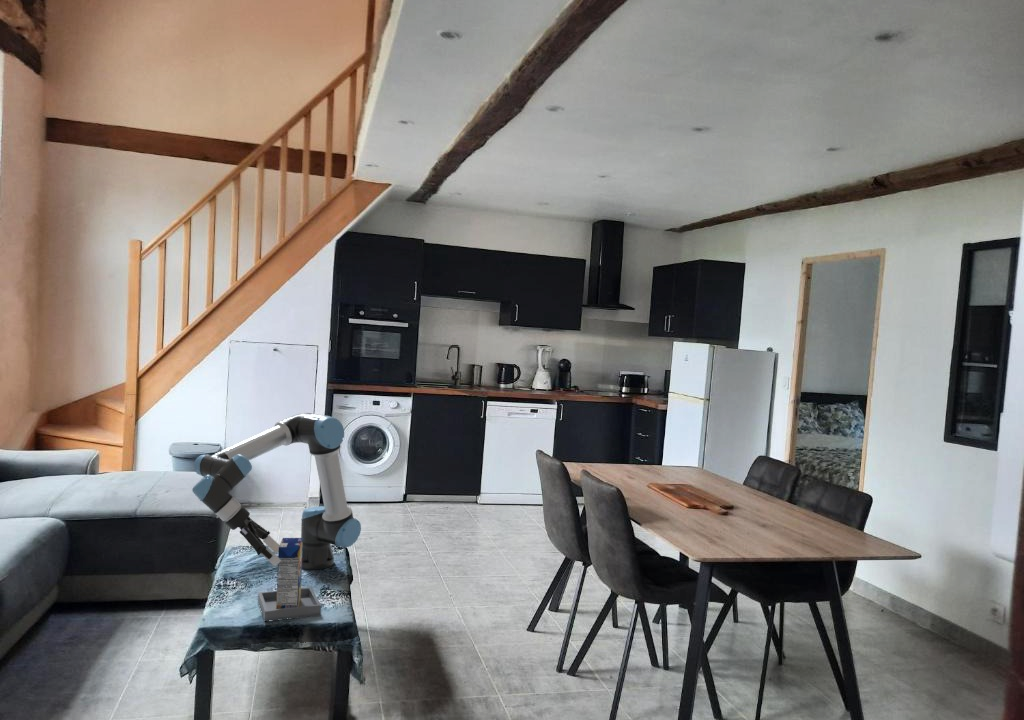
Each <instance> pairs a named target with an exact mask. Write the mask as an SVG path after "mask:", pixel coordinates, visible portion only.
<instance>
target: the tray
mask: <svg viewBox="0 0 1024 720" xmlns="http://www.w3.org/2000/svg"><path fill="white" fill-rule="evenodd" d="M257 595H258V597H257V598H258V599H257V603H259V604H258V606H259V605H260V607H259V609H260V608H261V610H260V612H261V611H262V613H261V615H262V614H263V616H262V618H263V617H264V619H263V621H264V620H265V621H269V620H278V619H287V618H288V619H287V620H290V619H289V618H295V619H300V618H299V617H304V618H308V617H307V616H312V617H318V615H322V604H321V603H320V600H319V598H318V597H317V595H316V593H315V591H314V589H313V588H312V587H311V586H309V587H308V586H307V587H301V600H300V604H299V607H291V608H282V609H276V602H277V590H271V591H259V592H258V593H257ZM297 617H298V618H297Z"/></svg>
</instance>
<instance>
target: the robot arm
mask: <svg viewBox="0 0 1024 720" xmlns="http://www.w3.org/2000/svg"><path fill="white" fill-rule="evenodd" d="M344 438H345V429H344V425H343V423H342V422H341V421H340V420H339V419H337V418H336V417H334V416H330V415H323V414H317V413H316V414H315V413H310V412H303V413H298V414H295V415H292V416H289V417H288V418H284V419H282V420H280V421H278V422H276V423H275V424H274V425H273V427H271V428H269V429H267V430H265V431H262V432H260V433H258V434H256V435H253V436H251V437H249V438H246V439H244V440H242V441H240V442H238V443H235V444H233V445H231V446H228V447H227V448H225V449H222V450H220V451H217V452H215V453H213V454H208V453H207V454H200V455H199V456H197V457H196V458H195V460H194V463H193V470H194V472H195V473H196V474H197V475H199V476H202V478H201V479H200V480H199V481H198V482H196V484H195V485H194V486H193V488H192V490H191V491H192V493H193V495H195V496H196V498H197V499H198V500H199V501H200V502H201V503H203V504H204V505H205V506H206V507H208V509H210V511H212V513H214V514H215V515H216V516H215V517H216V519H218V518H219V519H220V520H221V521H222V522H225V525H227V526H228V527H229V529H231V530H232V531H233V530H237V528H239V529H240V530H239V534H241V536H242V537H243V538H244V539H245V540H246V541H247V542H248V543H249V545H250V546H251V547H252V548H253V550H255V552H256V554H257V556H260V555H262V556H263V557H264V558H265V559H266V560H267V561H268V562H269V563H271V565H273V567H277V566H278V563H280V562H281V559H280V558H279V557H278V555H277V554H279V546H280V543H278V541H276V540H275V539H274V538H273V537H272V536H271V535H270V534H271V531H269V530H267V529H265V528H264V527H262V526H261V525H260V524H258V523H257V522H256V521H254V520H253V519H252V518H251V517H250V512H249V510H247V509H246V508H245V507H244V506H242V504H241V503H240V502H239V501H238V500H237V499H236V498H235V497H234V496H233V495H231V494H230V493H231V492H232V490H233V489H234V488H236V486H238V484H239V483H240V482H242V481H243V480H244V479H245V478H246V477H247V475H249V473H250V472H251V471H252V469H253V465H252V463H251V460H254V459H256V458H258V457H259V456H262V455H264V454H266V453H269V452H271V451H273V450H275V449H277V448H279V447H281V446H286V447H287V446H289V445H292V444H296V443H303V444H307V445H308V450H309V454H310V455H312V456H313V457H314V458H315V464H316V471H317V475H318V481H319V486H320V492H321V496H322V501H323V505H321V506H312V507H311V506H310V507H308V508H305V509H304V510H303V511H302V514H301V525H300V526H301V527H300V528H301V529H300V531H301V534H300V538H303V555H302V570H303V569H304V570H323V569H328V568H330V567H333V566H334V564H335V556H334V552H333V549H332V545H333V546H336V547H338V548H340V547H341V548H349V547H352V546H353V545H354V544H355V543H356V542H357V541H358V539H359V537H360V535H361V531H362V524H361V521H360V520H358V519H357V518H354V515H353V509H352V508H351V507H350V506H348V502H347V498H346V492H345V487H344V486H345V485H344V482H343V481H344V480H343V476H342V471H341V465H340V458H339V453H338V451H339V450H340V448H341V444H342V443H343V441H344ZM327 567H328V568H327Z"/></svg>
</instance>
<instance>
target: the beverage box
mask: <svg viewBox="0 0 1024 720" xmlns="http://www.w3.org/2000/svg"><path fill="white" fill-rule="evenodd" d="M279 545H280V546H279V552H278V553H277V554H278V555H277V557H279V558H280V559H281V562H280V563H278V564H277V579H276V580H277V583H276V591H277V602H276V609H282V608H291V607H299V604H300V600H301V588H302V579H303V578H302V573H303V568H302V555H303V538H301V537H282V539H281V541H280V543H279Z"/></svg>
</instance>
